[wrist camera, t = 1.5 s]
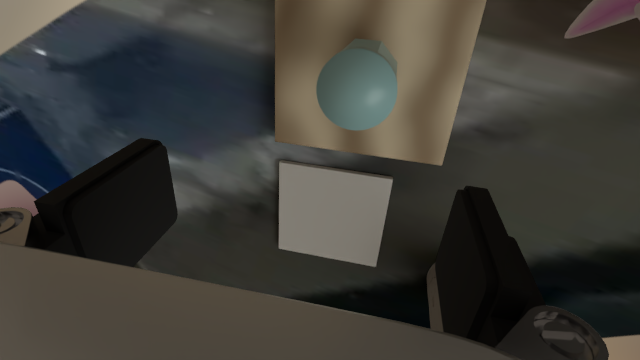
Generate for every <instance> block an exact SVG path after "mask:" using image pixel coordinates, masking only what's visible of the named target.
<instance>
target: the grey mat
mask: <svg viewBox="0 0 640 360" xmlns="http://www.w3.org/2000/svg"><path fill="white" fill-rule="evenodd" d="M392 182H393V177H390V176H384V175H377V174H371V173H364V172H357V171H351V170H344V169H338V168H331V167H325V166H318V165H311V164H305V163H298V162H292V161H285V160H281V161H280V162H279V249H284V250H289V251H294V252H300V253H305V254H310V255H315V256H321V257H326V258H331V259H337V260H342V261H347V262H352V263H358V264H363V265H368V266H373V267H376V264H377V259H378V254H379V248H380V243H381V238H382V233H383V228H384V223H385V218H386V213H387V207H388V202H389V197H390V192H391V187H392Z"/></svg>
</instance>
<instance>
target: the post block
mask: <svg viewBox="0 0 640 360" xmlns="http://www.w3.org/2000/svg"><path fill="white" fill-rule="evenodd" d="M485 4H486V0H275V142H282V143H289V144H296V145H303V146H310V147H317V148H324V149H331V150H338V151H345V152H352V153H358V154H365V155H372V156H379V157H386V158H393V159H400V160H407V161H414V162H421V163H428V164H434V165H441V166H442V163H443V159H444V156H445V152H446V148H447V145H448V141H449V137H450V134H451V130H452V126H453V122H454V119H455V115H456V111H457V108H458V104H459V100H460V97H461V93H462V89H463V86H464V82H465V78H466V74H467V71H468V67H469V63H470V60H471V56H472V52H473V49H474V45H475V41H476V37H477V34H478V30H479V26H480V23H481V19H482V15H483V12H484V8H485ZM355 38H356V39H366V40H376V41H382V42H383V43H384V45H385V46H386V48H387V49H388V50H389V52H390V53H391V54H392V56H393V57H394V59H395V60H396V61H397V87H398V88H397V98H396V102H395V105H394V107H393V109H392V111H391V113H390V114H389V115H388V117H387V118H386V119H385V120H384V121H382V122H381V123H380V124H378V125H376V126H374V127H372V128H369V129H366V130H357V131H356V130H348V129H344V128H342V127H339V126H337V125H336V124H334V123H333V122H332V121H330V120H329V119H328V118H327V117H326V116H325V114H324V113H323V111H322V110H321V108H320V106H319V103H318V99H317V94H316V86H317V80H318V77H319V74H320V72H321V70H322V68H323V67H324V66H325V64H326V63H327V62H328V61H329V60H330V59H331V58H332V57H333V56H334V55H336V54H337V53H339V52H340V51H342V50H343V49H344V48H345V47H346V46H347V45H349V44H350V43H351V42H352V41H353V40H354V39H355Z"/></svg>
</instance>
